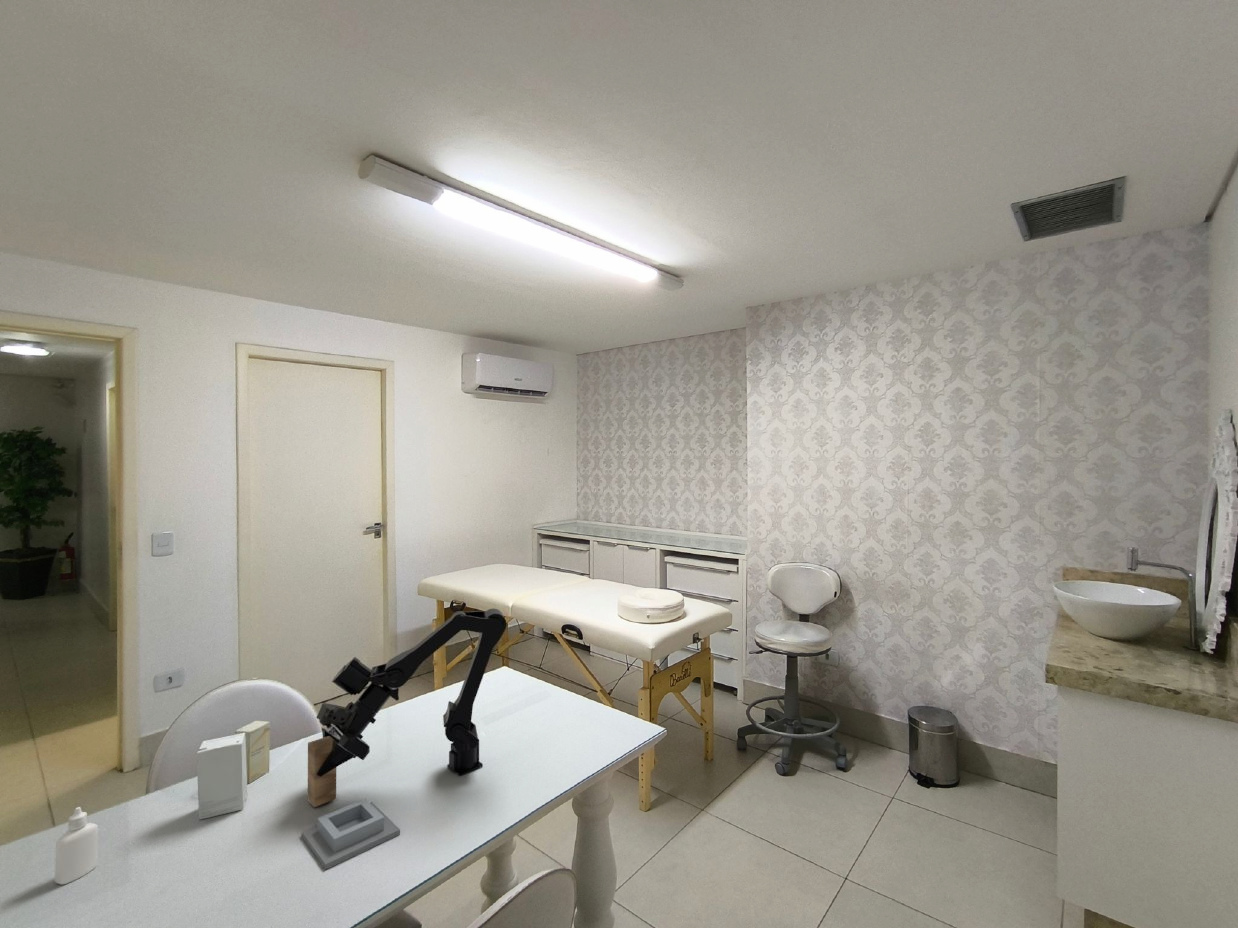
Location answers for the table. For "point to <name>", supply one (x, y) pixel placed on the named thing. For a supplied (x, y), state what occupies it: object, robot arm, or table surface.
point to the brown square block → (318, 786)
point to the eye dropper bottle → (76, 849)
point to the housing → (348, 832)
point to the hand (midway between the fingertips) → (315, 771)
